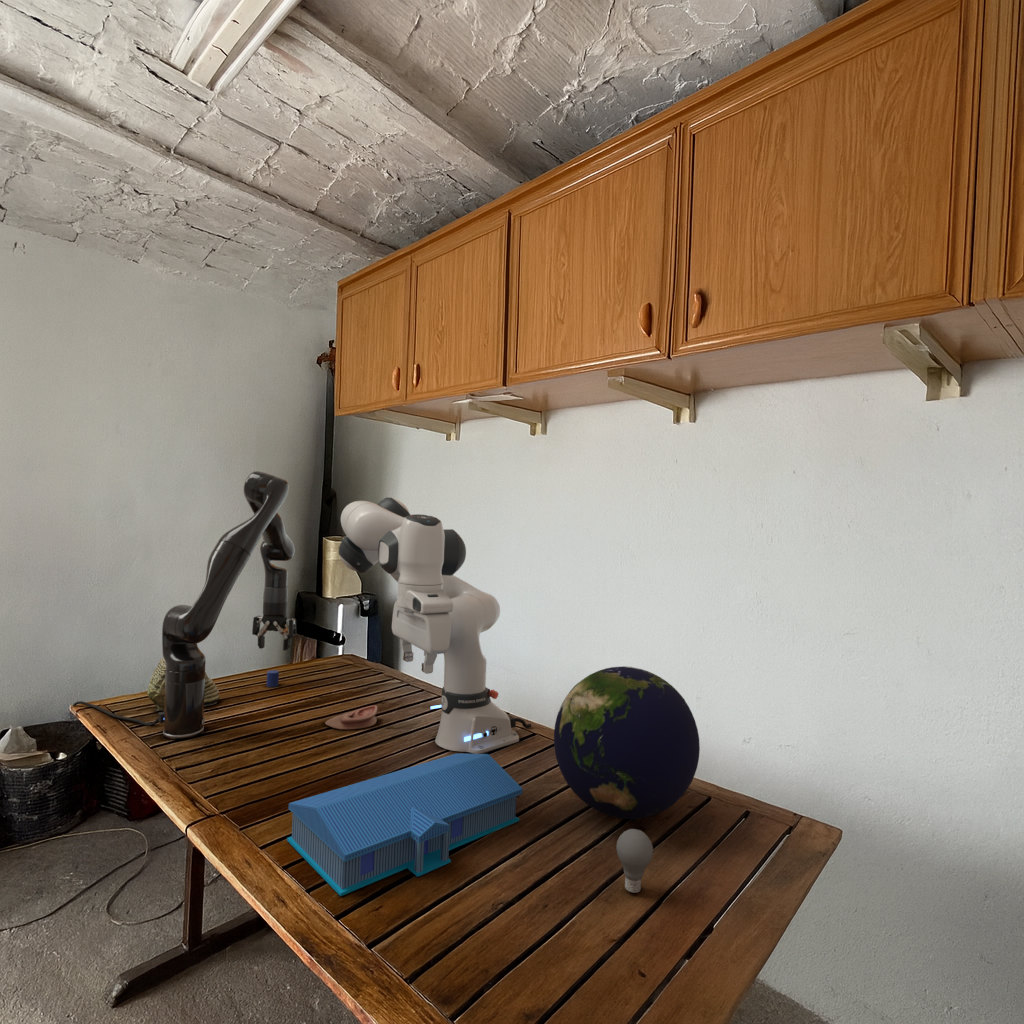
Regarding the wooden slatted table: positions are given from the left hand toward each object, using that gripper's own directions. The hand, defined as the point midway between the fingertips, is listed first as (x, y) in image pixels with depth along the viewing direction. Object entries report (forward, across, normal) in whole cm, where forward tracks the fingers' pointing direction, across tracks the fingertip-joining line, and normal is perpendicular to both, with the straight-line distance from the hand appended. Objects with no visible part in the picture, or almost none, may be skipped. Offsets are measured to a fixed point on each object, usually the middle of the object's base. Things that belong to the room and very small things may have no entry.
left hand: (273, 649), depth 208 cm
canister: (+12, 0, 0) cm, 12 cm away
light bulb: (+12, -114, +86) cm, 143 cm away
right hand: (-18, -71, +72) cm, 103 cm away
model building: (+12, -73, +78) cm, 107 cm away
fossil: (+12, +13, +26) cm, 31 cm away
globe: (+12, -112, +59) cm, 127 cm away
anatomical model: (+12, -38, +26) cm, 48 cm away
